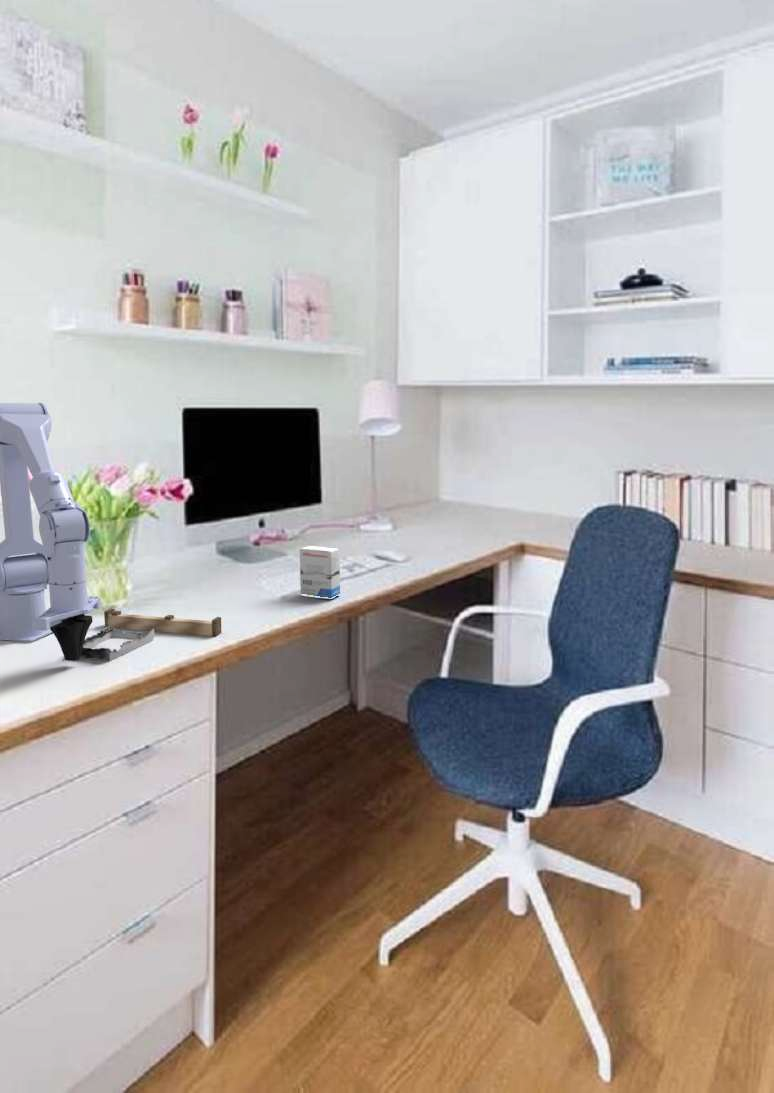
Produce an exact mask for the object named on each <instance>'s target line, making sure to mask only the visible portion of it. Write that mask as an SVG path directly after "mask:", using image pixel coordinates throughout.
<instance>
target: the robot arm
mask: <svg viewBox="0 0 774 1093" xmlns="http://www.w3.org/2000/svg"><path fill="white" fill-rule="evenodd" d="M50 412H51V411H50V409H49V408H48V407H47V405H46V404H45V403H43V402H38V403H30V402H29V403H28V402H27V403H25V402H24V403H23V402H0V494H1V497H0V498H1V508H2V518H3V528H4V539H3V540H2V541H1V542H0V640H2V641H12V642H13V641H14V642H22V643H23V642H24V643H32V642H34V641H36V640H39V639H41V638H43V637H46V636H47V635H50V634H53V635H54V636H55V638H56V639H57V642H58V644H59V646H60V648H61V651H62V655H63V657H64V660H65V661H69V662H77V661H79V660H81V654H82V649H83V644H84V640H85V638H87V637H86V636H87V634H88V630H89V629H90V627H91V625H92V623H93V622H94V621H93V616H92V615H87V614H92V613H93V612H94V609H96V610H97V609H100V608H102V601H101V596H88V587H87V586H88V584H87V570H86V569H87V568H86V551H85V543H86V542H87V541H88V540H89V537H90V534H91V532H90V530H91V527H90V525H91V524H90V520H89V516H88V513H87V512H86V510H85V508H83V507H81V505H80V503H79V502H75V500H74V497H73V496H72V492H71V490H70V488H69V485H68V482H67V480H66V477H65V475H64V474H62V473H60V472H59V471H56V469H55V466H54V463H53V459H52V455H51V452H50V448H49V445H48V441H49V438H50V433H51V430H52V415H51V413H50ZM29 473H30V474H31V476H32V478H31V480H30V479H29V478H30V476H29ZM31 496H32V499H33V501H34V505H35V506H36V509H37V512H38V515H39V519H38V531H39V536H40V539H41V541H39V540H38V539H36V538H35V534H34V522H33V513H32V511H33V510H32V500H31ZM48 588H49V589H48ZM45 590H49V604H50V607H49V608H48V609H47V610H46V596H45Z"/></svg>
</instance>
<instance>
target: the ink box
mask: <svg viewBox="0 0 774 1093" xmlns="http://www.w3.org/2000/svg"><path fill="white" fill-rule="evenodd" d="M340 556H341V555H340V548H335V547H334V548H333V547H325V546H317V545H316V546H314V545H309V546H304V547H301V548H300V549H299V576H300V577H299V580H300V582H299V583H300V586H299V587H300V588H299V589H300V595H301V594H307V595H313V596H320V597H328V598H332V597H334V596H336V595H338V594H340V595H341V574H340V573H341V570H340V569H341V567H340V564H341V562H340Z"/></svg>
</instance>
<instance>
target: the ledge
mask: <svg viewBox="0 0 774 1093" xmlns="http://www.w3.org/2000/svg"><path fill="white" fill-rule="evenodd" d="M103 613H104V614H103V615H104V628H106V627H109V626H111V628H115V629H124V630H125V629H126V630H137V631H146V632H150V631H151V630H152V629H154V632H158V633H159V632H160V633H161V632H162V633H170V634H171V633H173V634H182V635H195V636H207V637H217V636H219V635H220V634H222V616H217V617H215V618H212V619H211V620H201V619H189V618H188V619H187V618H176V617H175V615H174V614H167V615H165V616H152V615H151V616H150V615H140V614H139V615H138V614H127V613H122V610H116V609H115V608H108V609H106V610H104V611H103Z"/></svg>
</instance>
